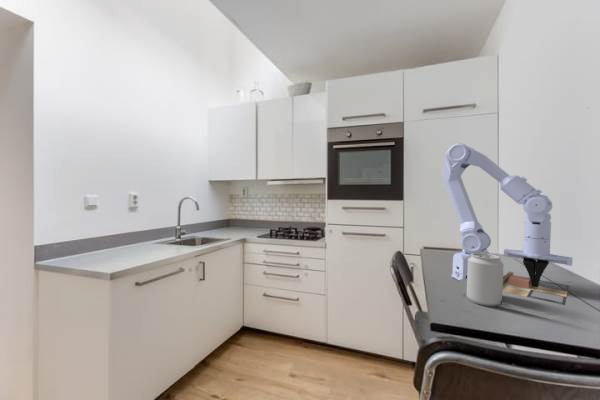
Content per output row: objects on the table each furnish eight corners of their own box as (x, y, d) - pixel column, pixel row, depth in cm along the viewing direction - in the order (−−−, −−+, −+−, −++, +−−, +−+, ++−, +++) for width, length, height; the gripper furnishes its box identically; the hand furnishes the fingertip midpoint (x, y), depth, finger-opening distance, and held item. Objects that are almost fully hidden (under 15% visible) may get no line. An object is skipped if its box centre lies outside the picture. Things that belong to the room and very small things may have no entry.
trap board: (493, 294, 75) (493, 285, 75) (509, 279, 91) (509, 271, 91) (564, 311, 65) (564, 300, 65) (568, 290, 81) (568, 281, 81)
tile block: (508, 284, 80) (508, 277, 80) (511, 281, 83) (511, 274, 83) (528, 288, 77) (529, 281, 77) (530, 285, 80) (531, 278, 80)
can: (495, 298, 73) (497, 253, 72) (506, 309, 65) (508, 259, 65) (463, 294, 75) (464, 250, 75) (470, 304, 68) (472, 256, 68)
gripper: (502, 235, 80) (500, 282, 80) (572, 242, 69) (570, 296, 70) (507, 233, 85) (505, 277, 85) (573, 240, 74) (571, 290, 74)
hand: (534, 286), depth 78 cm, fingers closed
